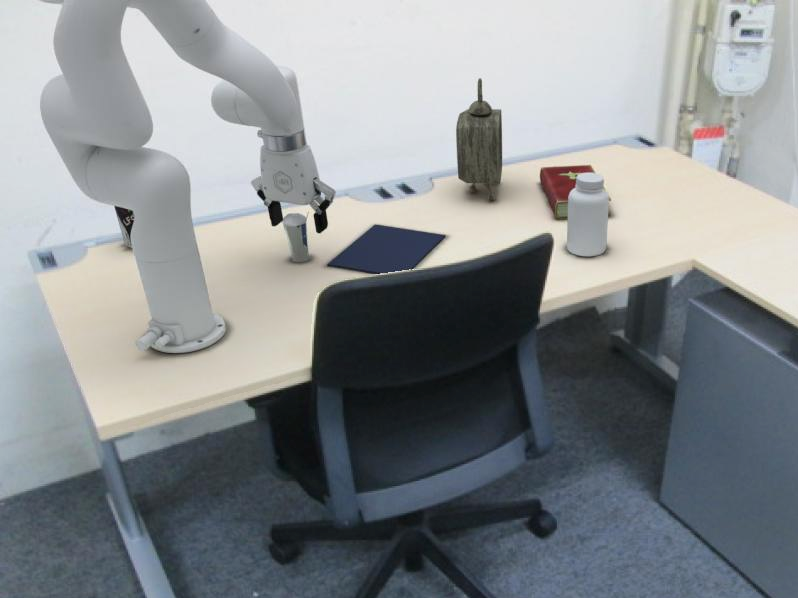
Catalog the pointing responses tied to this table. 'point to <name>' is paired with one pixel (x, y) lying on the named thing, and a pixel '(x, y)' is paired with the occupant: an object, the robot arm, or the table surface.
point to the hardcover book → (561, 186)
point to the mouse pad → (386, 250)
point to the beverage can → (125, 223)
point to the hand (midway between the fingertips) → (299, 227)
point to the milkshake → (297, 236)
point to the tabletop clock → (479, 144)
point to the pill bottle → (587, 216)
